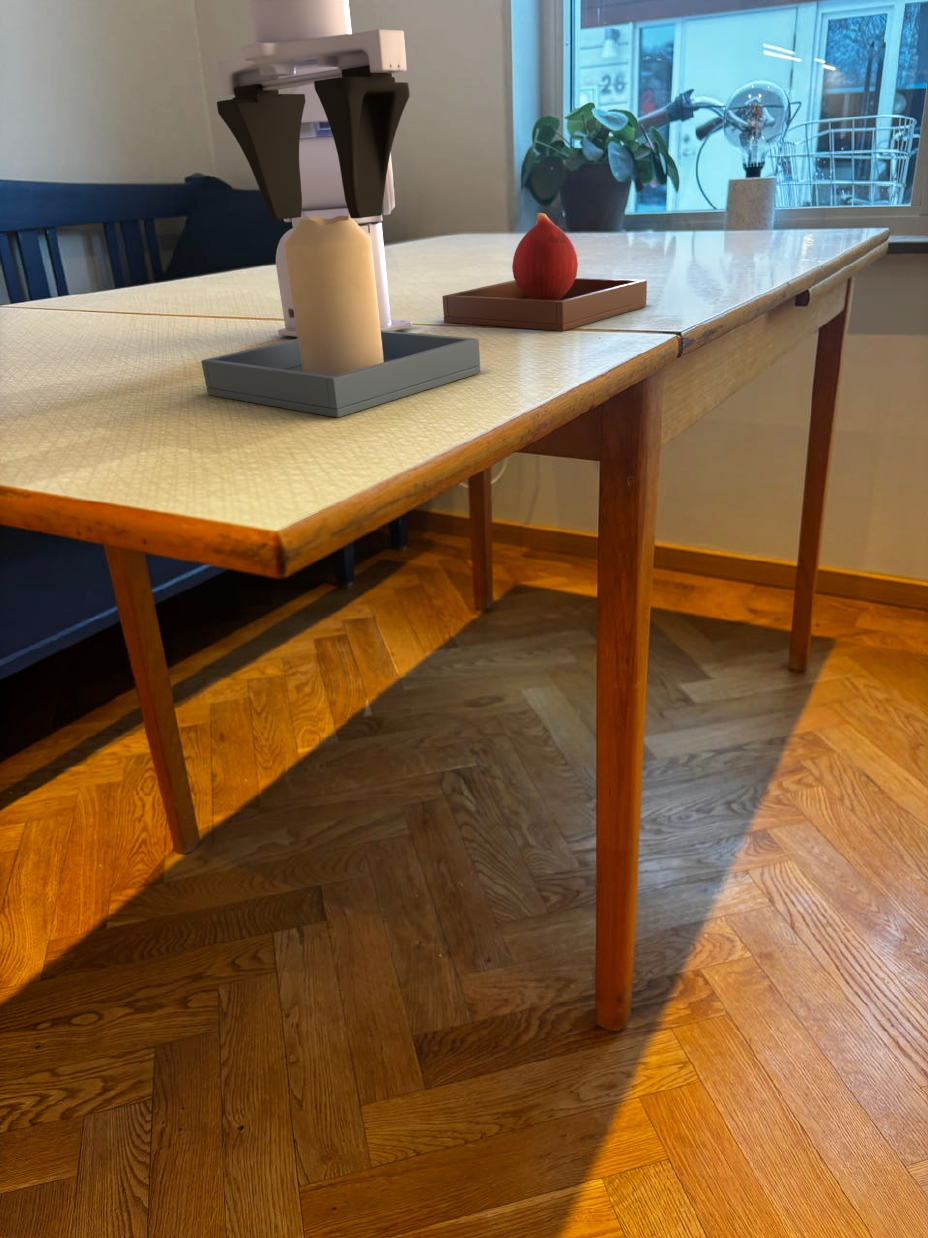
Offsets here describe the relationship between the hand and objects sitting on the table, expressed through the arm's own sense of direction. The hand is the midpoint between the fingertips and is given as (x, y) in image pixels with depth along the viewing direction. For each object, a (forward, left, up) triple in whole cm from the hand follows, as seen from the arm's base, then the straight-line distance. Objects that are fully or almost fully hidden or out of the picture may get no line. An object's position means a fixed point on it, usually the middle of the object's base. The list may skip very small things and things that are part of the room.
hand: (324, 217), depth 58 cm
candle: (0, 0, -10) cm, 10 cm away
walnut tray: (-4, +28, -10) cm, 31 cm away
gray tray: (0, 0, -10) cm, 10 cm away
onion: (-4, +28, -10) cm, 31 cm away
